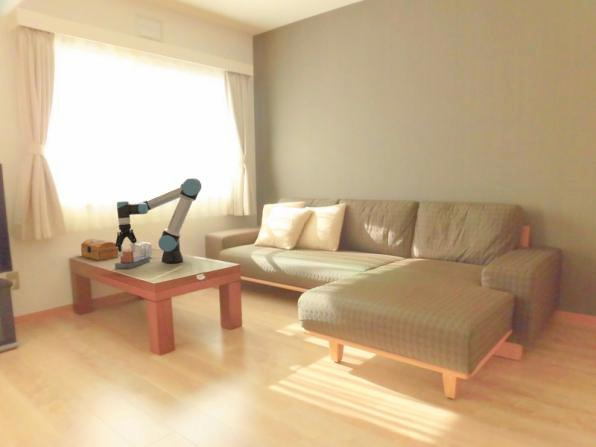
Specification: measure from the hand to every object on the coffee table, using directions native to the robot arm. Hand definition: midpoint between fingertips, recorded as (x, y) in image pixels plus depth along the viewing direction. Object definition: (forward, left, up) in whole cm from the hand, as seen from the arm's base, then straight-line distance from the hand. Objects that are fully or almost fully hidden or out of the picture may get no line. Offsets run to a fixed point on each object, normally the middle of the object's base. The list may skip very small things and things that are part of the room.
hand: (127, 254), depth 286 cm
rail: (-6, 0, -9) cm, 11 cm away
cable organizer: (-30, -10, -9) cm, 33 cm away
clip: (0, 0, -9) cm, 9 cm away
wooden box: (-27, -45, -9) cm, 53 cm away
